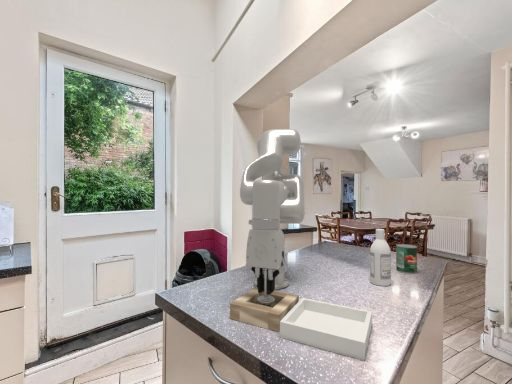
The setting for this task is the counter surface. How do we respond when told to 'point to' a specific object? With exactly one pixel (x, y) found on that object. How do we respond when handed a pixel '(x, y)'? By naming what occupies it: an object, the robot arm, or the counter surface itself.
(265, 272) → the screw
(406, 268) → the canned tomato
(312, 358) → the counter surface
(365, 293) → the counter surface
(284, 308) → the holder
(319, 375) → the counter surface
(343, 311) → the tray
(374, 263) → the bath foam
